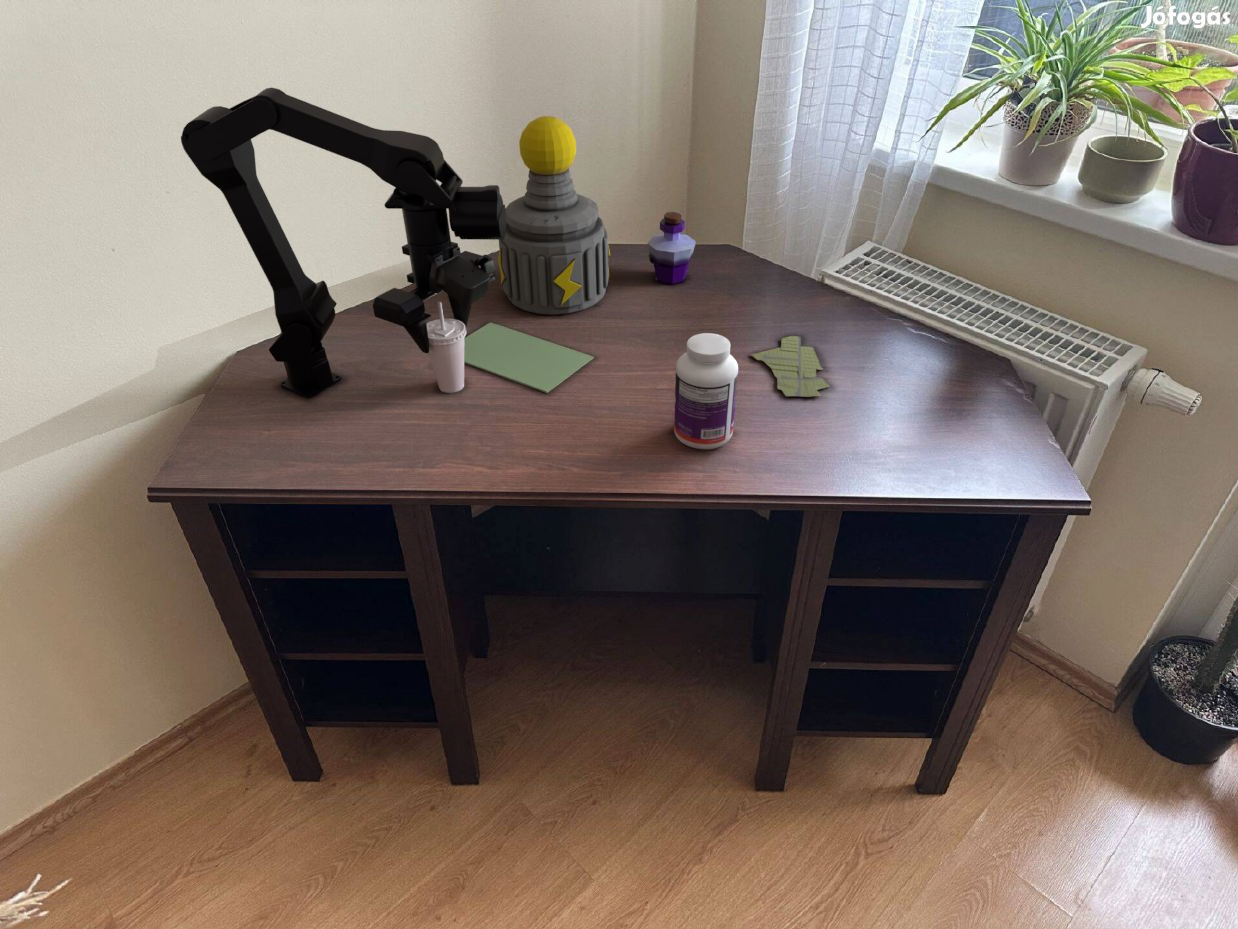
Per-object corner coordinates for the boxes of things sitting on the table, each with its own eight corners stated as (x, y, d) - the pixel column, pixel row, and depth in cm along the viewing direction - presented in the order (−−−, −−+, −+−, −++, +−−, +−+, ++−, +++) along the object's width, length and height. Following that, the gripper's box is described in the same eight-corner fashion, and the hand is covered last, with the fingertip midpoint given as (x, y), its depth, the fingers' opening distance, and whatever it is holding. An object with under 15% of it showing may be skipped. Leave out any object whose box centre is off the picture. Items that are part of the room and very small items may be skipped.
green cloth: (441, 354, 137) (440, 352, 137) (490, 323, 145) (490, 322, 145) (547, 393, 128) (546, 391, 128) (593, 358, 136) (593, 356, 136)
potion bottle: (645, 268, 161) (645, 205, 154) (691, 267, 162) (694, 204, 154) (649, 289, 155) (649, 224, 147) (697, 287, 155) (700, 222, 148)
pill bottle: (696, 412, 123) (700, 321, 115) (743, 432, 119) (752, 340, 111) (661, 438, 118) (663, 345, 110) (710, 460, 114) (716, 366, 106)
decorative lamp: (493, 278, 159) (475, 106, 141) (592, 264, 163) (587, 96, 145) (515, 325, 144) (498, 140, 126) (623, 308, 149) (621, 128, 131)
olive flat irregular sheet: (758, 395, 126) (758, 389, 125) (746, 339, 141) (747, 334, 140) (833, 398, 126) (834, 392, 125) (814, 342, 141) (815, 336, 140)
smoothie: (432, 400, 127) (417, 314, 118) (427, 378, 131) (413, 293, 123) (476, 393, 128) (464, 307, 119) (470, 372, 133) (458, 287, 124)
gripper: (423, 277, 106) (441, 386, 116) (519, 227, 118) (528, 329, 128) (359, 257, 111) (381, 363, 120) (458, 211, 123) (471, 310, 133)
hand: (444, 341), depth 125 cm, fingers open, 7 cm apart
